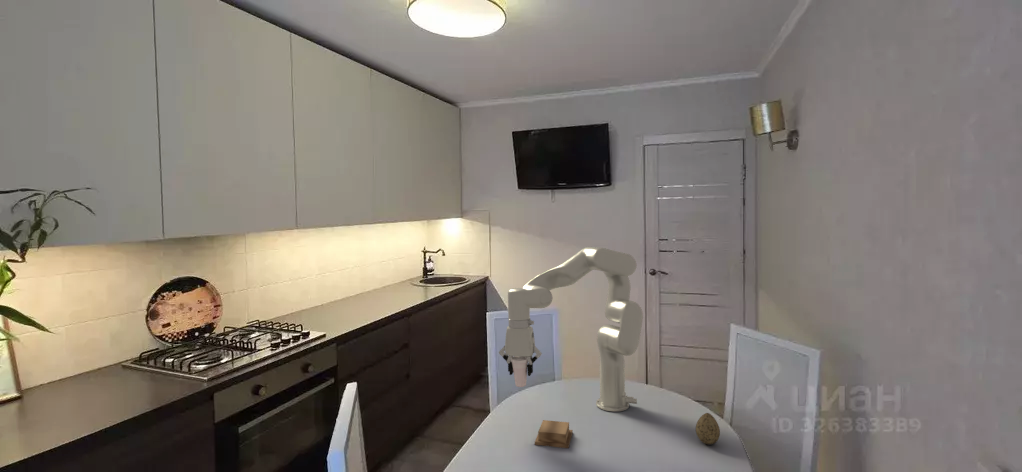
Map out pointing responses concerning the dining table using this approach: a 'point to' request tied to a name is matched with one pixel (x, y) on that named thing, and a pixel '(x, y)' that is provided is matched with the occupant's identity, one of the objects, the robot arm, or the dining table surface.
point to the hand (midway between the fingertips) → (520, 373)
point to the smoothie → (520, 370)
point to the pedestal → (554, 434)
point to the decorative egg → (707, 429)
